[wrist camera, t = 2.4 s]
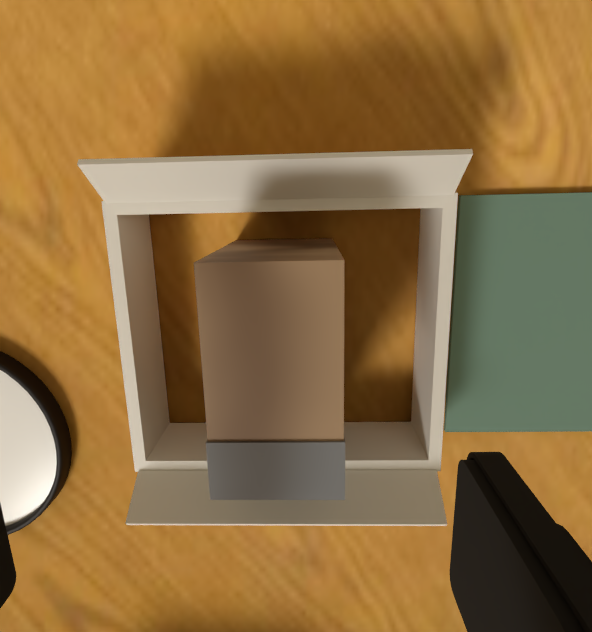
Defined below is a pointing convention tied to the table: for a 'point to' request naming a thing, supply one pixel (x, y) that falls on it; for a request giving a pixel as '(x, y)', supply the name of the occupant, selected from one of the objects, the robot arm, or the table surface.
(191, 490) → the carton
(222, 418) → the walnut box
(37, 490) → the magnifying glass
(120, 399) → the table surface
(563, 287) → the pad
